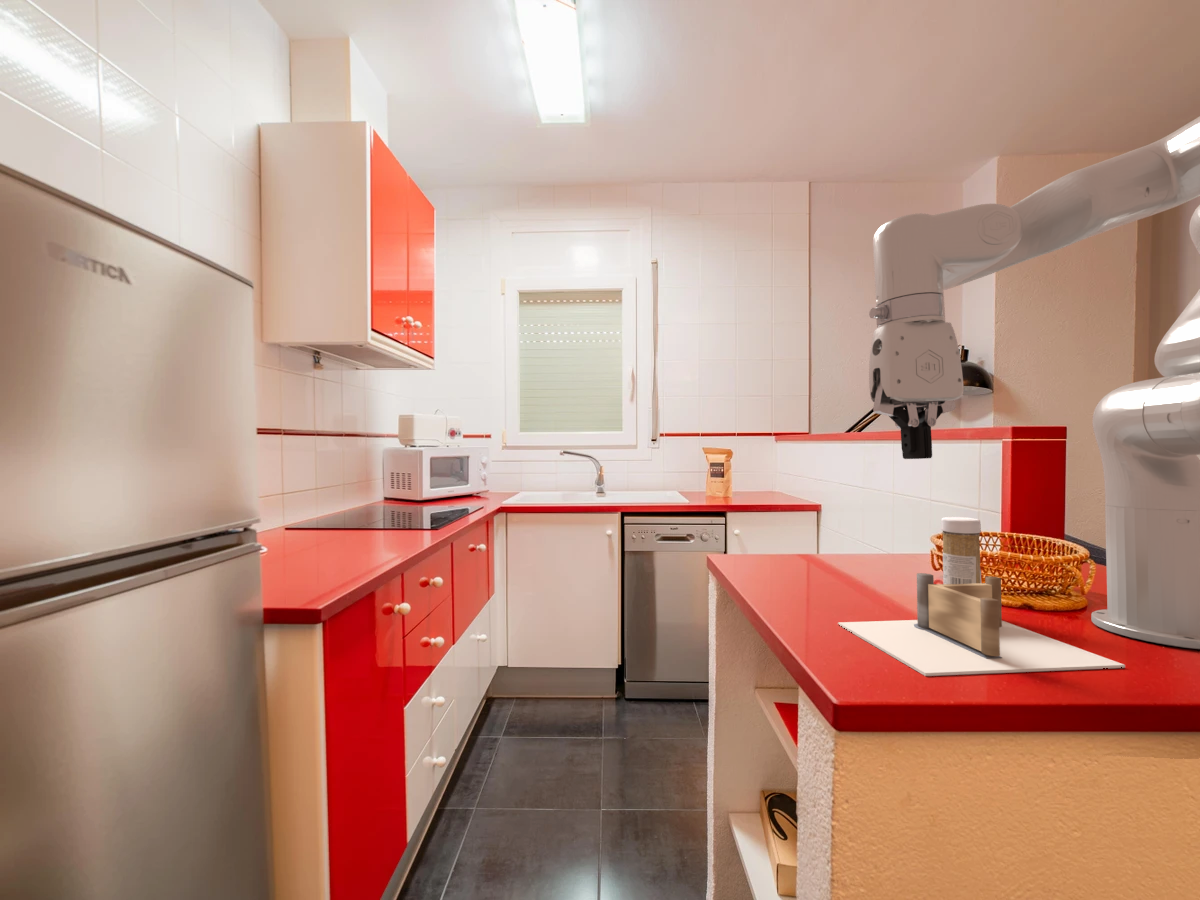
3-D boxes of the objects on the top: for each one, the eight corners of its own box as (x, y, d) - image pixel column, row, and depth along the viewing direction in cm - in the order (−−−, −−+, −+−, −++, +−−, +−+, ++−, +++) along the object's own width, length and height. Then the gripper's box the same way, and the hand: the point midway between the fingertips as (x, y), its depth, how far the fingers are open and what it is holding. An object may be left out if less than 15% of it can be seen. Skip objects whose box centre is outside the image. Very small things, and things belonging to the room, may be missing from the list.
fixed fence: (993, 625, 67) (992, 571, 67) (1005, 629, 65) (1004, 574, 65) (914, 627, 66) (913, 573, 66) (924, 632, 64) (923, 576, 64)
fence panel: (926, 627, 64) (925, 581, 64) (938, 627, 64) (938, 580, 64) (989, 656, 54) (988, 601, 54) (1003, 656, 54) (1002, 601, 54)
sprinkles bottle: (988, 614, 71) (986, 518, 71) (974, 620, 68) (972, 520, 69) (951, 607, 75) (949, 515, 75) (936, 612, 72) (935, 517, 73)
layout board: (993, 619, 69) (993, 616, 69) (1124, 667, 53) (1124, 663, 53) (837, 624, 67) (837, 621, 67) (925, 676, 51) (925, 672, 51)
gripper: (875, 308, 61) (883, 460, 61) (987, 307, 63) (995, 456, 63) (838, 324, 69) (845, 461, 68) (939, 324, 70) (946, 456, 70)
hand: (917, 458), depth 65 cm, fingers closed
